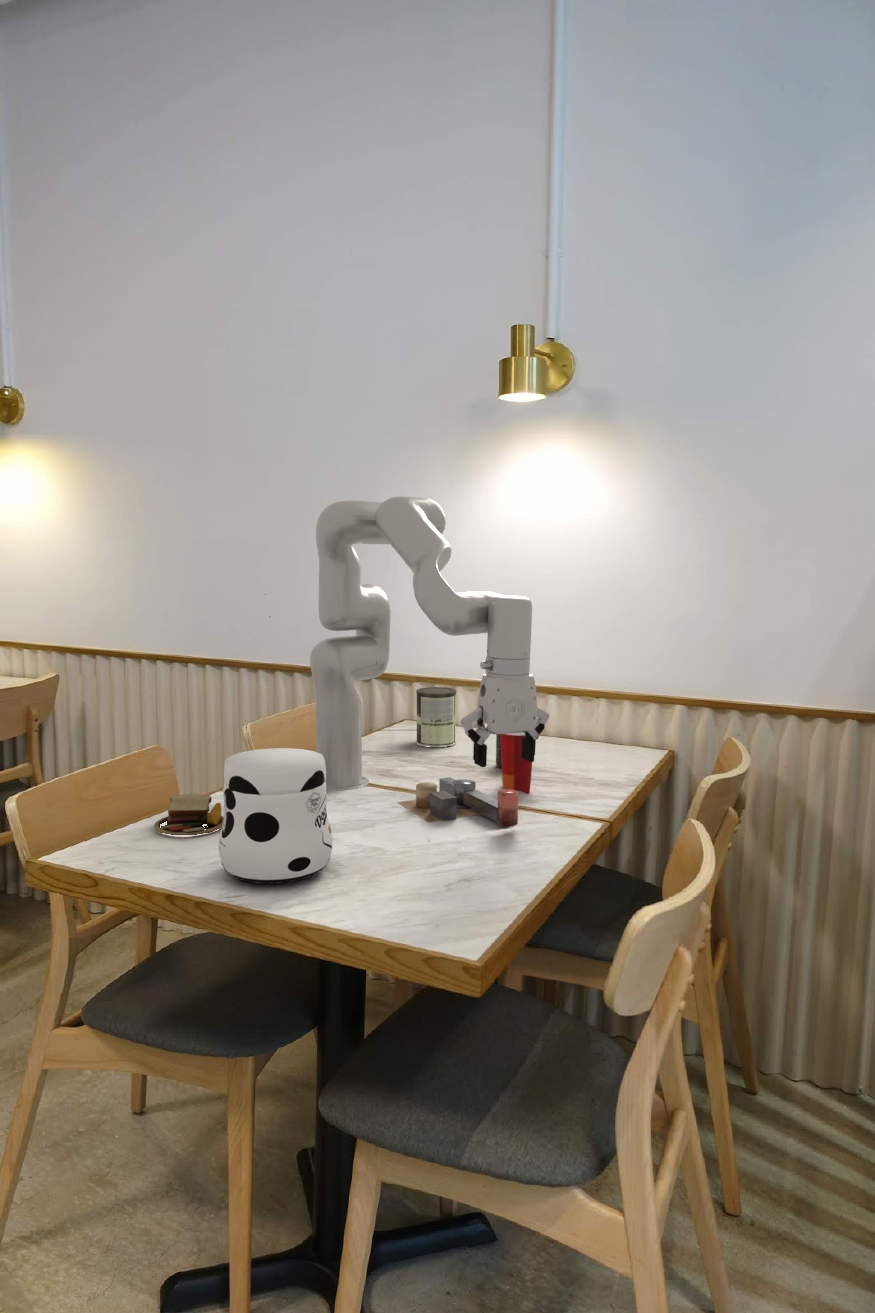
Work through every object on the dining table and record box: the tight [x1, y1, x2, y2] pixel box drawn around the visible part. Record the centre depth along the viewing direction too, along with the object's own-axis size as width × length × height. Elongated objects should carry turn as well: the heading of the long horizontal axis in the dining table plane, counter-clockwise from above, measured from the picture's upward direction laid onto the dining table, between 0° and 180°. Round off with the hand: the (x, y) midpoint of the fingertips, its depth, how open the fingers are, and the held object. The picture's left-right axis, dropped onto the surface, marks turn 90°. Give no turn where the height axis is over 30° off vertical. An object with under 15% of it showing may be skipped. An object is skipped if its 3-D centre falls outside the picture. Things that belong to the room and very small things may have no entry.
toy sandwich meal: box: [153, 793, 224, 835], centre depth 162 cm, size 12×14×5 cm
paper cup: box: [500, 732, 533, 795], centre depth 186 cm, size 8×8×14 cm
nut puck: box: [415, 782, 438, 809], centre depth 172 cm, size 4×4×4 cm
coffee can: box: [415, 686, 457, 748], centre depth 231 cm, size 10×10×14 cm
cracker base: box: [396, 790, 483, 823], centre depth 171 cm, size 16×14×5 cm
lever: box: [438, 776, 519, 827], centre depth 168 cm, size 26×4×6 cm, turn 27°
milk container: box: [218, 747, 333, 884], centre depth 139 cm, size 17×17×18 cm
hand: (504, 762), depth 158 cm, fingers open, 9 cm apart
